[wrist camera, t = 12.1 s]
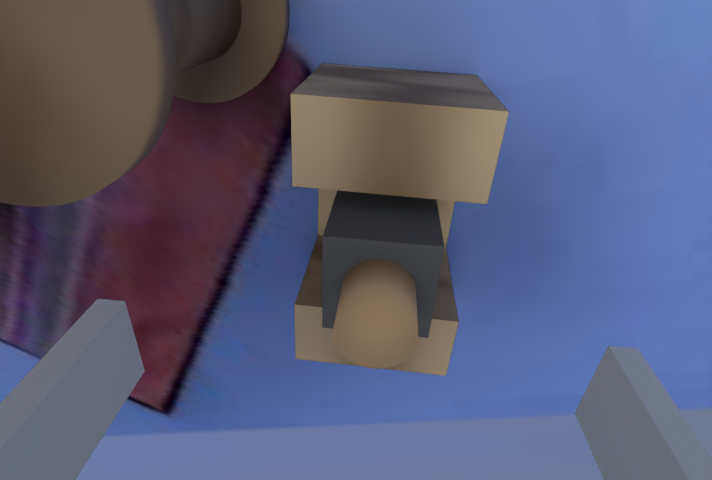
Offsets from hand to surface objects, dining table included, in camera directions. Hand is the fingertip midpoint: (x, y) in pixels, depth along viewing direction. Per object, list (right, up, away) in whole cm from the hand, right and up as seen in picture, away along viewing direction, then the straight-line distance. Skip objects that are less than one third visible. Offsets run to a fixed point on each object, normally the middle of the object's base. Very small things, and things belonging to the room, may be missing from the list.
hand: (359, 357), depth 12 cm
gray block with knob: (+1, +6, +10) cm, 11 cm away
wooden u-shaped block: (+1, +6, +10) cm, 12 cm away
